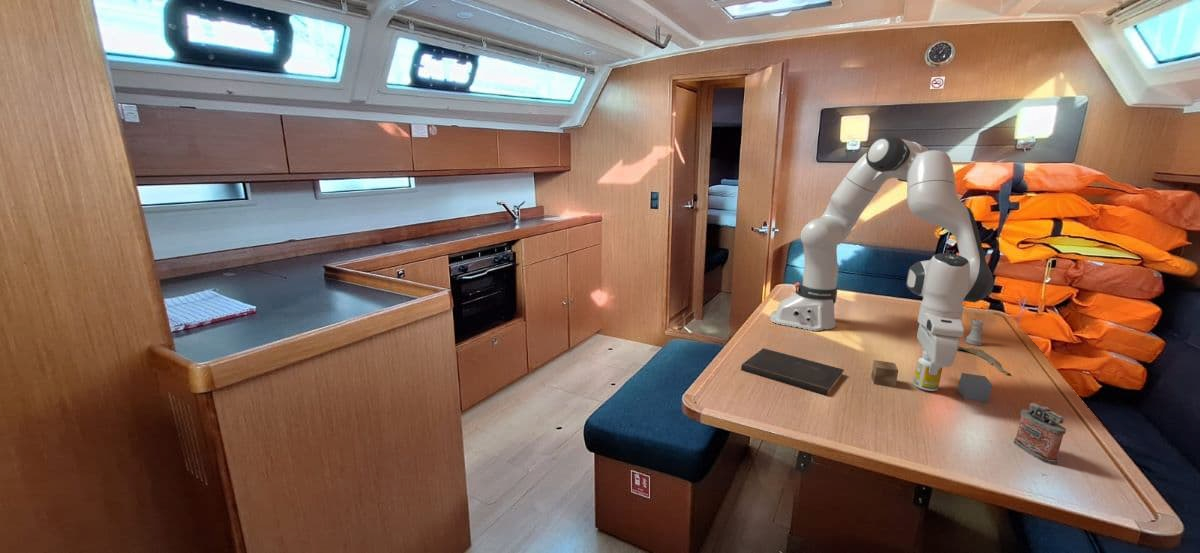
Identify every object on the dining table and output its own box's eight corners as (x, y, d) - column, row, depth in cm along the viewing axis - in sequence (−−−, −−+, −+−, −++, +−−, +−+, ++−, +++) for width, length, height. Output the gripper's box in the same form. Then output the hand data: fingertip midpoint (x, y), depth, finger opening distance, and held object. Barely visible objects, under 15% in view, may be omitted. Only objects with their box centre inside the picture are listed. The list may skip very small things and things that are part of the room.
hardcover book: (762, 355, 146) (763, 348, 145) (843, 377, 132) (844, 369, 131) (740, 371, 134) (741, 364, 133) (826, 398, 120) (827, 390, 119)
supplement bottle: (908, 384, 125) (915, 350, 123) (921, 380, 127) (927, 347, 125) (930, 393, 121) (937, 358, 118) (942, 389, 123) (949, 355, 120)
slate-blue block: (963, 399, 119) (967, 380, 118) (957, 390, 123) (961, 372, 122) (988, 403, 117) (992, 384, 116) (981, 394, 122) (985, 376, 120)
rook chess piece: (975, 341, 157) (980, 318, 155) (985, 346, 153) (990, 322, 151) (961, 340, 158) (966, 317, 156) (970, 345, 153) (975, 322, 151)
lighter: (1008, 441, 101) (1019, 398, 99) (1023, 440, 101) (1034, 398, 99) (1046, 464, 93) (1058, 419, 91) (1061, 464, 93) (1074, 418, 91)
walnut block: (873, 384, 126) (876, 367, 125) (871, 376, 131) (873, 360, 130) (895, 387, 124) (898, 370, 123) (891, 380, 129) (894, 363, 128)
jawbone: (968, 349, 153) (970, 343, 152) (1034, 378, 133) (1036, 371, 133) (945, 348, 151) (946, 342, 151) (1008, 378, 132) (1010, 371, 131)
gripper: (915, 305, 130) (907, 351, 133) (934, 329, 111) (923, 382, 115) (943, 308, 127) (933, 355, 131) (966, 333, 109) (954, 387, 113)
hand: (929, 368), depth 123 cm, fingers closed on supplement bottle, 5 cm apart
